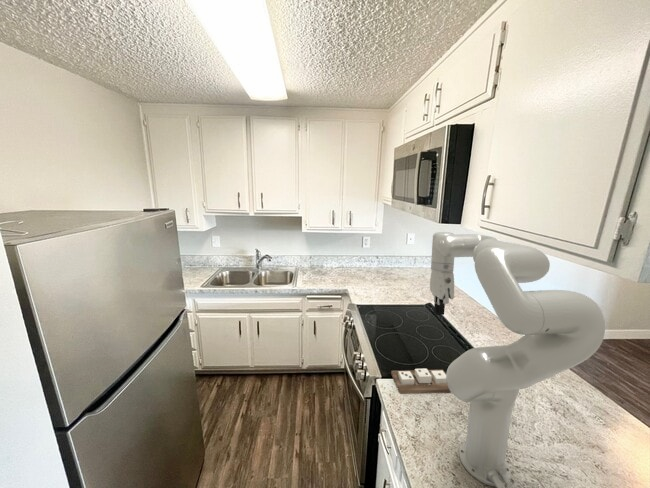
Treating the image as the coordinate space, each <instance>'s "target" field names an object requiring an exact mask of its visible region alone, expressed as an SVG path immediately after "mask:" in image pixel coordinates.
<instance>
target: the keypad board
mask: <svg viewBox="0 0 650 488" xmlns="http://www.w3.org/2000/svg"><path fill="white" fill-rule="evenodd" d="M427 370H428V371H429V373H430V375H431V371H443V372H444V373H445V374H446V373H447V372H445V371H444V369H427ZM398 371H399V370H391V371H390V372H391V373H390V375H391V376H392V379H393V382H394V384H395V386H396V388H398V389H397V391H398V393H399V394H400V395H405V394H406V395H407V394H447V393H448V394H449V393H451V391H450V390H449V388H448V385H447V384H435V383H434V381H433V380H432V379H431V383H422V384H419V382H418V380H417V379H416V377H415V369H414V370H413V369H412V370H411V369H410V370H404V369H403V371H410V372H411V374H412V376H413V377H414V385H401V383H400V381H399V379H398ZM451 394H452V393H451Z"/></svg>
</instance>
